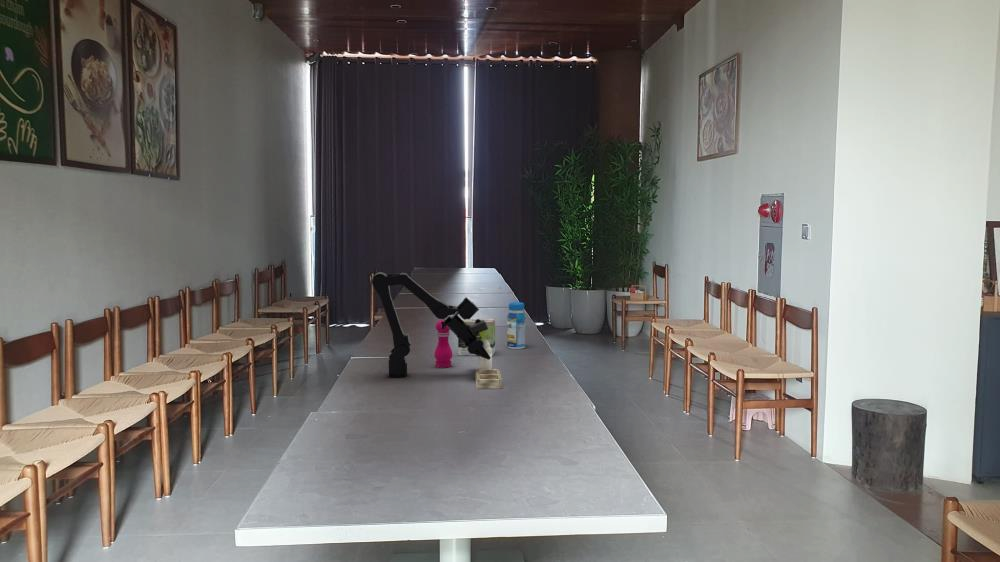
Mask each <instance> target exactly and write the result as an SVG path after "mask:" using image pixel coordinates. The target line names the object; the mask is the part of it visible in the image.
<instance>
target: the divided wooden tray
mask: <svg viewBox="0 0 1000 562" xmlns="http://www.w3.org/2000/svg"><path fill="white" fill-rule="evenodd" d="M474 377H475V378H474V379H475V385H476V389H477V390H480V389H482V390H483V389H484V390H485V389H490V390H491V389H503V385H504V384H503V378H502V376H501V371H500V369H499V368H497V369H495V368H494V369H493V368H492V369H479V368H478V369H475V375H474Z"/></svg>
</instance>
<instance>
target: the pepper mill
mask: <svg viewBox="0 0 1000 562" xmlns="http://www.w3.org/2000/svg"><path fill="white" fill-rule="evenodd" d="M446 319H447V318H445V319H439V320H438V321H436V324H435V329H436V330H437V333H436V336H437V338H438V339H437V340H438V341H437V345H436V347H435V350H434V355H433V357H434V359H436V360H435V367H437V368H448V367H449V368H450V367H451V366H452V360H451V359H452V358H453V351H452V348H451V346H450V342H449V337H450V333H451V332H450V331H451V330H450V329H449V328H448V327H447V326H446V327H445V328H444V329H442V328H441V326H442V324H441V321H445V320H446Z"/></svg>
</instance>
